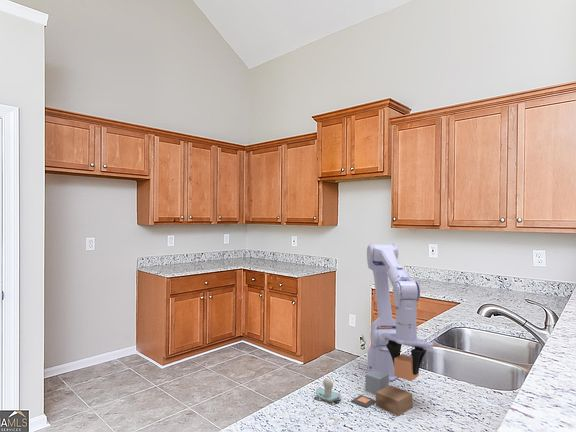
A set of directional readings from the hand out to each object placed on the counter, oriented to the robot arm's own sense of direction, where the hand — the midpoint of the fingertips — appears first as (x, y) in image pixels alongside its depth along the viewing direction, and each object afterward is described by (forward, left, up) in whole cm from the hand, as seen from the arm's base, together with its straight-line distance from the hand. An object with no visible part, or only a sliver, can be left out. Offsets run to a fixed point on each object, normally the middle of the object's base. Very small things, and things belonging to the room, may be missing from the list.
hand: (406, 370), depth 103 cm
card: (-8, -9, -9) cm, 15 cm away
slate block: (-9, 0, -9) cm, 13 cm away
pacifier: (-17, -14, -9) cm, 24 cm away
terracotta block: (0, 0, -2) cm, 2 cm away
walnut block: (-1, -5, -9) cm, 10 cm away
